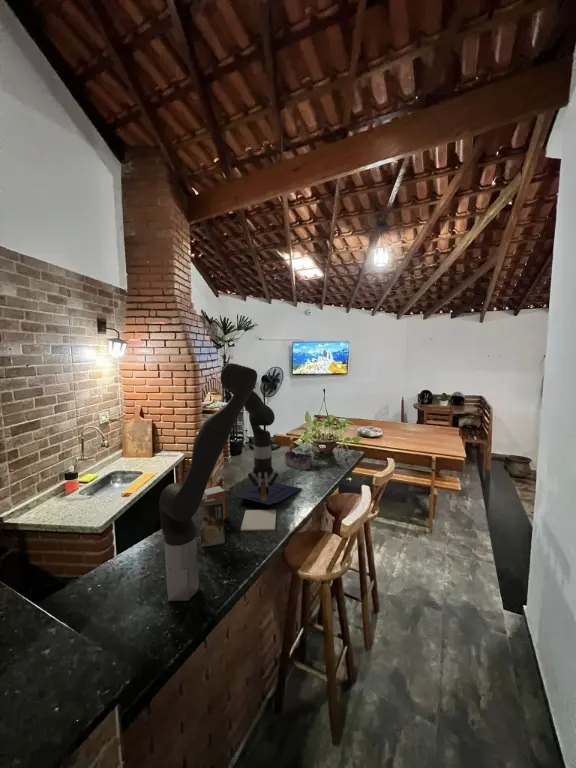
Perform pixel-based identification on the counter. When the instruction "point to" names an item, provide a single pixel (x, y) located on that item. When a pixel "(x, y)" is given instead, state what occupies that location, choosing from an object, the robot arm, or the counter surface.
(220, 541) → the coffee box
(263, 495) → the slab
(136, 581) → the counter surface
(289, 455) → the geode
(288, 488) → the navy rectangular panel
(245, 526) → the mat
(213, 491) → the small box
